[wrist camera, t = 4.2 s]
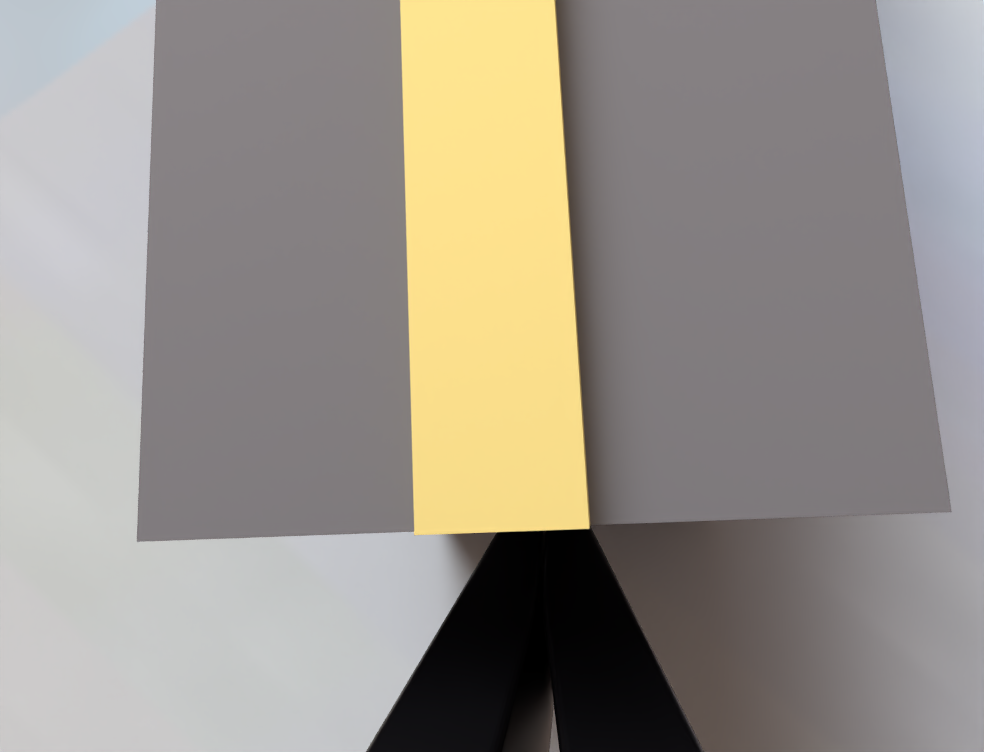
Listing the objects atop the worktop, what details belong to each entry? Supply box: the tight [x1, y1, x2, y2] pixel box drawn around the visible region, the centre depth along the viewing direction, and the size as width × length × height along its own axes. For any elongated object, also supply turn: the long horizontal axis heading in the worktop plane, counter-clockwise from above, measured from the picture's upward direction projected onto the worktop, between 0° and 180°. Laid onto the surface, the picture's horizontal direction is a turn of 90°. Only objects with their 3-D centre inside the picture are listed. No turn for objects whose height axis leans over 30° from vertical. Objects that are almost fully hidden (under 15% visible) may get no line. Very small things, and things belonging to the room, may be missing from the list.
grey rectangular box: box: [137, 0, 951, 542], centre depth 11 cm, size 14×6×10 cm, turn 2°
